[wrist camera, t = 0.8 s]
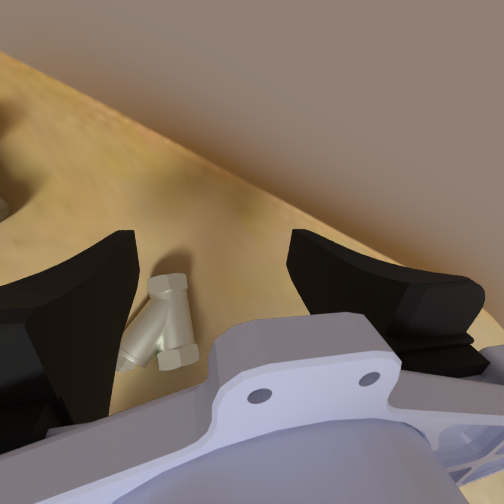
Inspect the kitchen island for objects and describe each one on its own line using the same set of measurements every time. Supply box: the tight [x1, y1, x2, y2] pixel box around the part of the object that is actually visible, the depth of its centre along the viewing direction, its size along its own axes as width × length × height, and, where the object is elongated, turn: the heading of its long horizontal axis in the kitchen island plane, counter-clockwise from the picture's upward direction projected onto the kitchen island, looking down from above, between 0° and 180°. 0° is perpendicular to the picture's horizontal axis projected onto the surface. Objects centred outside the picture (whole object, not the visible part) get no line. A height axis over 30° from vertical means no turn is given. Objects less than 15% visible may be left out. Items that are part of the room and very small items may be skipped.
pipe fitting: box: [116, 273, 200, 374], centre depth 23 cm, size 8×4×7 cm
